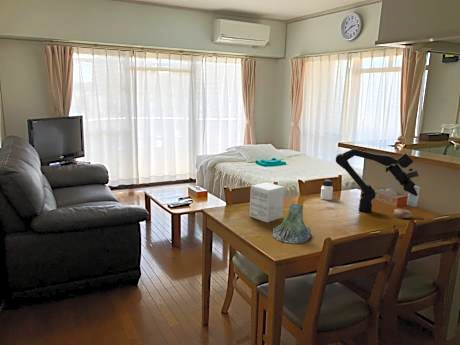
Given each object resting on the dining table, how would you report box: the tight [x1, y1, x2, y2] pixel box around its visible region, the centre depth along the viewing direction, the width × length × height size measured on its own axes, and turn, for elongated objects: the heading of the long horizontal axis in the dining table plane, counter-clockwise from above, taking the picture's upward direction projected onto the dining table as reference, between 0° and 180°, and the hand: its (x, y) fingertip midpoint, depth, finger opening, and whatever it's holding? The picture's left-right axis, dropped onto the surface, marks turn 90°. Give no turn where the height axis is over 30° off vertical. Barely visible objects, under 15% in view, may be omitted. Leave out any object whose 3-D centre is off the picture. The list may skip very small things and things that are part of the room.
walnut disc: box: [393, 208, 413, 219], centre depth 210 cm, size 9×9×3 cm
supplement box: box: [248, 182, 285, 223], centre depth 200 cm, size 13×13×18 cm
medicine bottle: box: [320, 179, 334, 201], centre depth 242 cm, size 7×7×12 cm
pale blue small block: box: [406, 185, 421, 208], centre depth 210 cm, size 5×5×11 cm
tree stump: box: [272, 202, 312, 245], centre depth 176 cm, size 18×20×18 cm
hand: (416, 194), depth 210 cm, fingers closed on pale blue small block, 5 cm apart
